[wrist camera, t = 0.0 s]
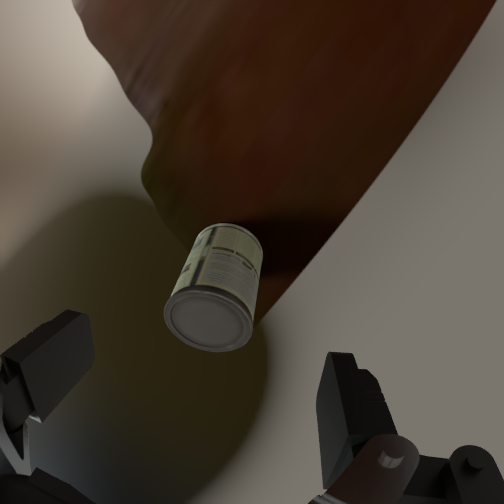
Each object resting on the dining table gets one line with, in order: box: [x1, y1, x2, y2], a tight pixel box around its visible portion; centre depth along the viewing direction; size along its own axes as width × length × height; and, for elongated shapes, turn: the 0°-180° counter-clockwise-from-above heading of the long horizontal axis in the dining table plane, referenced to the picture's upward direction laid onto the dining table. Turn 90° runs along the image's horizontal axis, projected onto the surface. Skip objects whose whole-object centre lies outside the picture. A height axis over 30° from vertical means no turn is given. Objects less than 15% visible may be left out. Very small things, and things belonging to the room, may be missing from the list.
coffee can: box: [164, 223, 263, 352], centre depth 41 cm, size 10×10×14 cm
